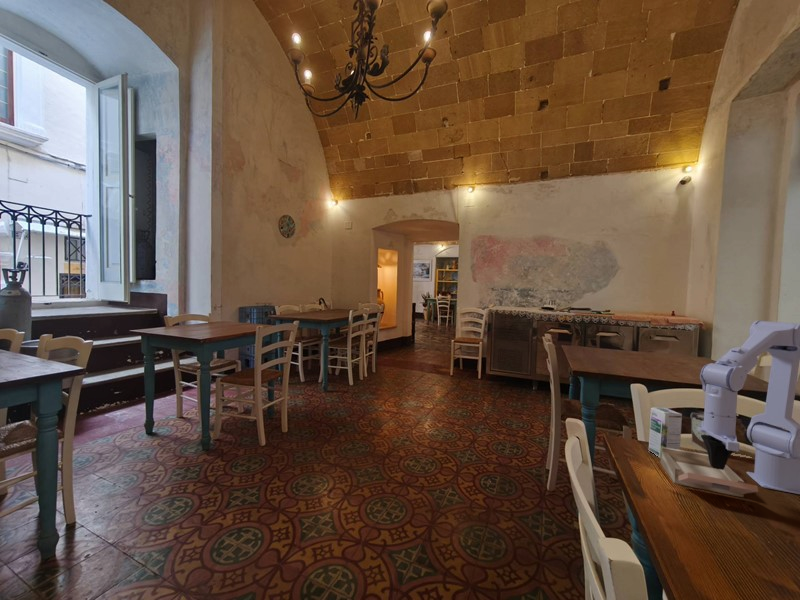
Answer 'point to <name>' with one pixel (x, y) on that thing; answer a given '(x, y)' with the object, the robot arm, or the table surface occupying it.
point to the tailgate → (718, 483)
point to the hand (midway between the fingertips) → (716, 467)
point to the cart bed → (695, 468)
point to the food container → (697, 434)
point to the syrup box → (664, 430)
